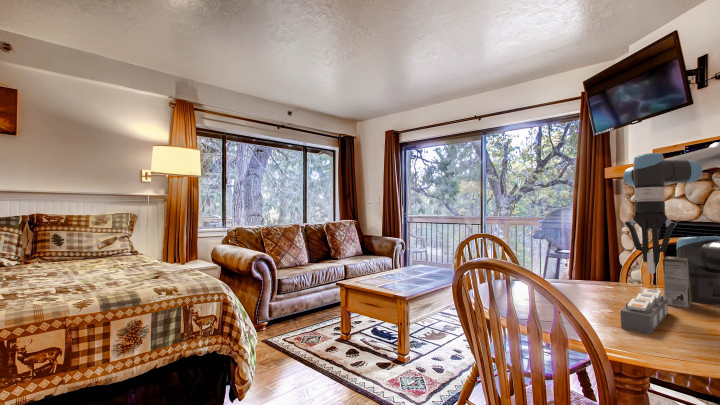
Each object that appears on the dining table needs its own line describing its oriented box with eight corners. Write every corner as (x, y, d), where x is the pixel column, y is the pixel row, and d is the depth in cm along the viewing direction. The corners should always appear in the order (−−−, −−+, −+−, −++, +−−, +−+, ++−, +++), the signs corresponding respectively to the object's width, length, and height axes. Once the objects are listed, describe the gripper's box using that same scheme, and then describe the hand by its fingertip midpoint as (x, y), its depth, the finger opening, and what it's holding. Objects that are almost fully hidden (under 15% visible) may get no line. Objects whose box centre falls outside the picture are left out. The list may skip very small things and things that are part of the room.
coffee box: (667, 299, 124) (665, 255, 124) (691, 302, 119) (689, 257, 119) (663, 304, 118) (661, 258, 118) (689, 308, 113) (687, 260, 113)
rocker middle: (639, 296, 105) (638, 292, 105) (655, 299, 102) (655, 294, 102) (634, 304, 101) (634, 300, 101) (652, 307, 98) (651, 302, 98)
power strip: (642, 309, 112) (641, 290, 113) (669, 313, 107) (668, 293, 107) (621, 328, 95) (620, 305, 95) (651, 334, 90) (651, 311, 90)
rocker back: (645, 292, 110) (644, 288, 110) (661, 294, 107) (660, 290, 107) (641, 299, 107) (640, 295, 106) (657, 301, 104) (657, 297, 103)
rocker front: (632, 302, 100) (632, 297, 99) (650, 305, 96) (649, 300, 96) (627, 309, 96) (627, 305, 96) (645, 312, 93) (645, 308, 93)
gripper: (621, 201, 112) (623, 271, 112) (674, 199, 102) (676, 277, 102) (627, 201, 117) (629, 268, 117) (678, 200, 107) (680, 274, 107)
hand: (651, 272), depth 109 cm, fingers closed
